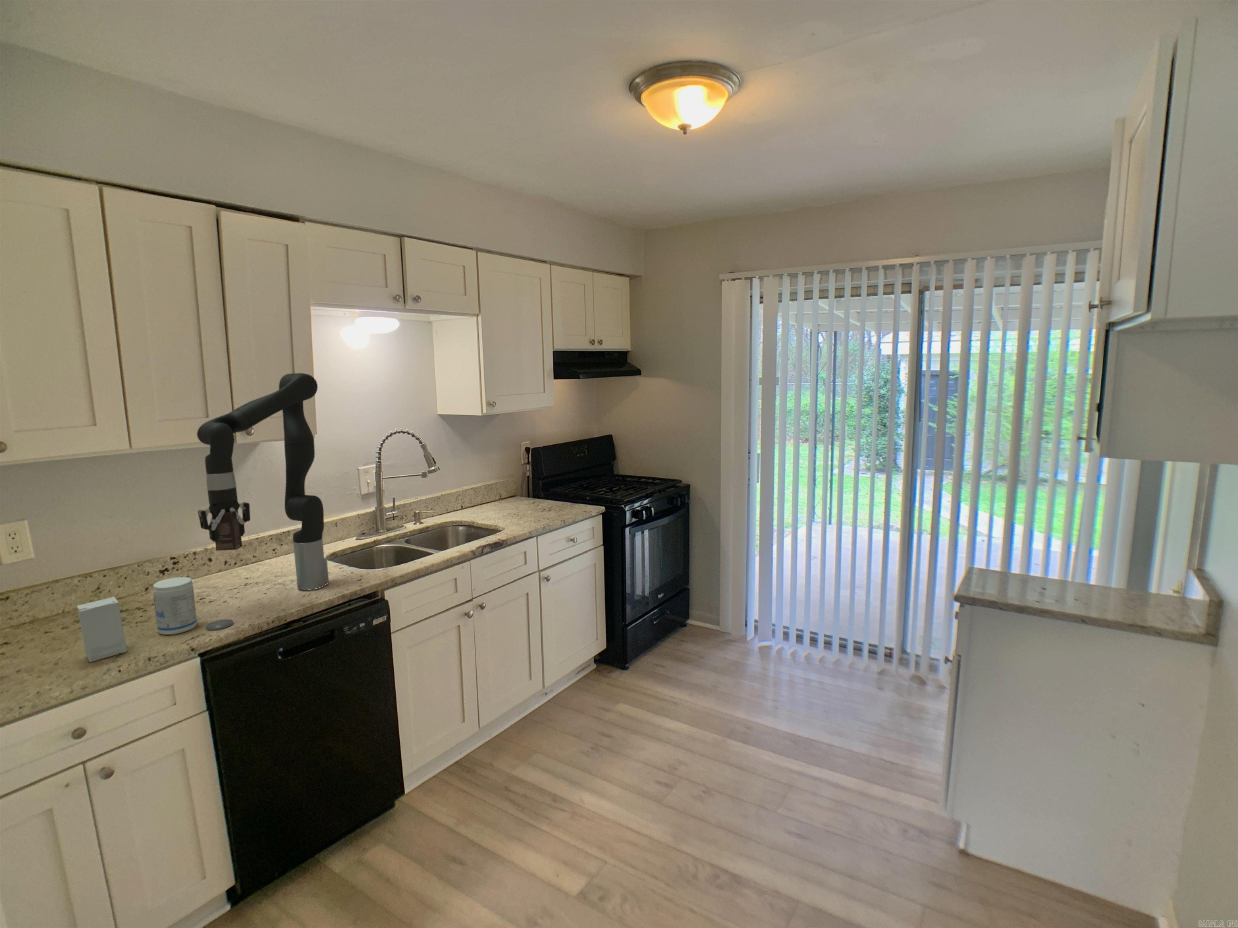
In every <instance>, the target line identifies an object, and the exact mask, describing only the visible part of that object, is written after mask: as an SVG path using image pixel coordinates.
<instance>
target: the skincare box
mask: <svg viewBox="0 0 1238 928" xmlns="http://www.w3.org/2000/svg"><path fill="white" fill-rule="evenodd" d="M76 607H77V614H78V619H79V624H80V629H81V634H82V640H83V645H84V649H85V655H86V657H87V660H88V663H92V662H95V661H99V660H102V659H105V658H109V657H112V656H117V655H120V654H119V653H121V654H124V653H127V651H128V650H127V643H126V640H125V632H124V627H123V620H122V616H121V610H120V603H119V601H118V599H117V598H116V597H115V596H112V597H108V598H103V599H99V600H95V601H91V602H87V603H83V604H79V605H76Z"/></svg>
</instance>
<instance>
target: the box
mask: <svg viewBox="0 0 1238 928" xmlns="http://www.w3.org/2000/svg"><path fill="white" fill-rule="evenodd" d="M236 512H237V513H238V514H239V509H238V510H236V511H233V512H225V513H224V515H223V516H222V518H221V520H220V522H219V524H218V525H217V527H216V529H215V530H217V538H218V541H217V542H214V543H215V550H216V552H219V551H234V550H239V549H240V548H243V542H242V541H243V540H242V536H241V532H240V524H239V521H238V520H237V515H236ZM211 518H212V519H213V520H215V519H216V517H214V516H213V515H212V514H211Z"/></svg>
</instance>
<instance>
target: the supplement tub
mask: <svg viewBox="0 0 1238 928" xmlns="http://www.w3.org/2000/svg"><path fill="white" fill-rule="evenodd" d="M152 591H153V600H154V601H153V602H154V603H153V604H154V610H155V611H154V612H155V618H156V626H157V632H158V633H159V634H161V635H167V636H168V635H169V636H171V635H176V634H182V633H185V632H188V631H190V630H192V629H194V628H195V627H196V626H197V624H198V623H197V621H198V620H197V613H196V610H197V609H196V601H195V592H194V583H193V579H192V578H191V577H187V576H179V577H172V578H166V579H162V580H160V581H157V582H155V583H154V584H153V587H152Z"/></svg>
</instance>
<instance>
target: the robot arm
mask: <svg viewBox="0 0 1238 928" xmlns="http://www.w3.org/2000/svg"><path fill="white" fill-rule="evenodd" d="M318 387H319V385H318V382H317V380H316V379H315V378H314V376H312V375H310V374H309V373H303V372H301V373H300V372H299V373H298V372H296V373H294V372H293V373H286V374H285V375H283V376H282V377H281V378H280V379H279V383H278V390H276V391H274V392H271V393H268V394H266V395H263V396H261V397H258V398H255V399H253V400H250V401H248V402H246V403H244V404H242V405H240V406H238V407H236V408H235V409H233V410H231V411H230V412H228V413H225V414H222V415H220V416H216V417H215V418H212V419H210V420H208V421H205V422H204V423H203V424H201V425H200V426H199V428H197V432H196V436H197V439H198V440H199V441H200V442H201V443H203V444H205V445H207V446H209V454H207V455H206V456H205V457H204V458H205V459H204V466H205V473H206V478H205V479H206V482H205V483H206V490H207V497H208V504H209V505H208V508H207V509H199V510H198V511H197V513H198V520H199V524H200V528H201V530H202V529H203V530H206V531H208V532H209V533H208V534H209V540H211V541H212V542H214V543H215V542H217V541H218V538H217V530H215V529H216V527H217V525H218V524H219V522H220V520H221V518H222V516H223V515H224V513H225V512H233V511H236V510H238V511H239V509H240V510H241V513H242V517H241V515H240V514H239V512H238V513H237V512H236V515H237V520H238V521H239V524H240V532H241V537H244V534H246V532H245V530H246V529H245V523H247V522H250V520H251V510H250V509H251V508H250V506H251V505H250V503H249V502H245V501H244V502H241V503H240V502H239V501H238V500H239V499H238V490H237V481H236V476H235V473H234V464H233V459H232V458H233V452H234V446H235V445H234V444H235V435H234V434H237V433H240V432H244V431H247V430H249V429H251V428H252V427H254V426H256V425H258V424H259V423H261V422H262V421H264V420H266V419H267V418H269V417H271V416H274V415H275V414H277V413H279V412H281V411H282V419H283V420H282V421H283V422H282V423H283V435H284V436H283V437H284V438H283V440H284V441H283V444H284V458H285V490H284V492H285V493H284V511H285V515H286V517H287V518H288V519H289V520H290V521H296V522H301V529H300V530H297V531H295V532H294V533H293V534H292V542H293V543H292V544H293V553H294V564H295V565H294V566H295V573H296V576H295V577H296V586H297V589H298V588H299V589H303V590H308V589H315V588H319V587H322V586H324V585H325V584H327V583H329V584H330V582H329V569H328V560H327V558H326V557H325V552H324V541H323V532H324V529H325V521H324V520H325V519H324V517H325V516H324V515H325V514H324V504H323V502H322V499H321V498H320V497H319V496H317V495H311V494H306V490H305V489H306V488H305V484H306V479H307V478H306V477H307V475H308V472H309V471H310V469H311V467H312V465H313V463H314V462H315V454H316V453H315V452H316V451H315V439H314V438H315V437H314V434H313V433H312V432H313V431H312V430H311V428H310V425H309V424H308V421H307V419H306V416H305V412H304V401H306V400H309V399H312V398H313V397H314V396H315V395H316V394H317V392H318ZM209 513H210V514H211V516H212V515H213V516H214V517H216V519H215V520H213V519H212V517H211V518H210V520H208V517H209ZM208 521H210V522H208ZM324 587H325V586H324Z"/></svg>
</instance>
